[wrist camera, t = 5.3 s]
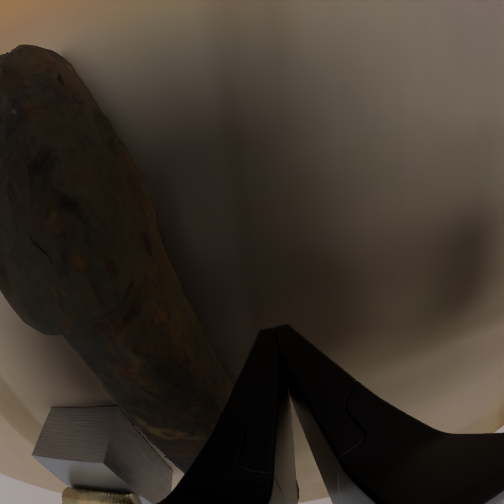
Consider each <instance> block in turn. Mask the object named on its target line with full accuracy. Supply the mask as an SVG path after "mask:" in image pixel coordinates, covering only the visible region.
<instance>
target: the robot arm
mask: <svg viewBox="0 0 504 504" xmlns="http://www.w3.org/2000/svg"><path fill="white" fill-rule="evenodd" d="M274 330H275V331H274ZM277 343H278V344H277ZM281 360H282V361H281ZM284 373H285V374H284ZM285 377H286V378H285ZM287 386H288V387H287ZM288 390H289V391H288ZM289 394H290V396H289ZM290 397H291V400H292V403H293V405H294V408H295V411H296V413H297V416H298V418H299V421H300V423H301V426H302V428H303V431H304V433H305V436H306V438H307V441H308V444H309V446H310V449H311V451H312V454H313V456H314V459H315V461H316V464H317V466H318V469H319V471H320V473H321V476H322V478H323V481H324V483H325V486H326V488H327V491H328V493H329V496H330V498H331V500H332V503H333V504H504V433H486V434H451V433H446V432H442V431H439V430H436V429H434V428H432V427H430V426H428V425H426V424H424V423H422V422H421V421H419V420H417V419H415V418H413V417H412V416H410V415H408V414H406V413H404V412H403V411H401V410H399V409H397V408H396V407H394V406H392V405H391V404H389V403H387V402H386V401H384V400H383V399H381V398H379V397H378V396H377V395H375V394H374V393H373V392H371V391H370V390H368V389H367V388H366V387H365V386H363V385H362V384H361V383H360V382H358V381H356V380H355V379H354V378H353V377H352V376H351V375H349V374H348V373H347V372H346V371H345V370H343V369H342V368H341V367H340V366H338V365H337V364H336V363H335V362H333V361H332V360H331V359H330V358H329V357H327V356H326V355H325V354H324V353H322V352H321V351H320V350H319V349H318V348H316V347H315V346H314V345H313V344H312V343H310V342H309V341H308V340H307V339H306V338H304V337H303V336H302V335H301V334H300V333H298V332H297V331H296V330H295V329H294V328H292V327H291V326H290V325H289V324H283V325H279V326H276V327H275V328H272V327H271V328H267V329H262V330H260V331H259V333H258V335H257V337H256V339H255V342H254V344H253V346H252V348H251V351H250V353H249V355H248V357H247V360H246V362H245V364H244V366H243V368H242V371H241V373H240V375H239V377H238V379H237V382H236V384H235V386H234V388H233V390H232V392H231V395H230V397H229V399H228V401H227V403H226V405H225V407H224V410H223V412H222V413H221V416H220V418H219V420H218V422H217V424H216V426H215V428H214V430H213V432H212V433H211V435H210V437H209V439H208V440H207V442H206V444H205V445H204V447H203V448H202V450H201V451H200V453H199V454H198V456H197V457H196V459H195V460H194V462H193V463H192V465H191V466H190V467H189V469H188V470H187V472H186V473H185V475H184V476H183V477H182V479H181V480H180V482H179V483H178V484H177V486H176V487H175V488H174V490H173V491H172V492H171V493H170V494H169V495H168V496H167V497H165V498H164V499H163V500H162V501H160V502H158V503H157V504H298V502H297V486H296V471H295V457H294V443H293V430H292V417H291V405H290Z"/></svg>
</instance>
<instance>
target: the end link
mask: <svg viewBox="0 0 504 504" xmlns="http://www.w3.org/2000/svg"><path fill="white" fill-rule="evenodd" d="M32 456H33V457H34V458H35V459H36V460H37V461H39V462H40V463H41V464H42V465H43V466H44V467H45V468H47V469H48V470H49V471H50V472H51V473H52V474H54V475H55V476H56V477H57V478H59V479H60V480H61V481H62V482H64V483H65V484H66V485H67V486H69V487H67V488H65V489H64V491H63V493H62V502H63V504H157V503H158V502H160V501H162V500H163V499H164V498H165V497H167V496H168V495H169V494H170V493H171V486H172V472H173V470H172V469H171V468H170V467H169V466H168V465H167V464H166V463H165V462H164V461H163V460H162V459H161V457H160V456H159V455H158V454H157V453H156V452H155V451H154V450H153V448H152V447H151V446H150V445H149V444H148V443H147V441H146V440H145V439H144V438H143V437H142V436H141V434H140V433H139V432H138V431H137V429H136V428H135V427H134V426H133V425H132V423H131V422H130V421H129V419H128V418H127V417H126V416H125V414H124V413H123V412H122V410H121V409H120V408H119V406H108V407H81V408H51V409H50V412H49V414H48V416H47V419H46V421H45V423H44V426H43V428H42V431H41V433H40V435H39V438H38V440H37V443H36V445H35V448H34V451H33V453H32Z"/></svg>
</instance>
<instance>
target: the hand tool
mask: <svg viewBox="0 0 504 504" xmlns="http://www.w3.org/2000/svg"><path fill="white" fill-rule="evenodd" d="M0 291H1V292H2V294H3V295H4V297H5V298H6V300H7V301H8V303H9V304H10V305H11V307H12V308H13V309H14V311H15V312H16V313H17V314H18V315H19V317H20V318H21V319H22V320H23V321H24V322H25V323H26V324H28V325H29V326H31V327H33V328H34V329H36V330H38V331H39V332H41V333H43V334H45V335H64V337H65V338H66V339H67V341H68V343H69V344H70V345H71V346H72V347H73V348H74V349H75V350H76V351H77V353H78V354H79V355H80V356H81V358H82V359H83V360H84V361H85V363H86V364H87V365H88V366H89V367H90V368H91V370H92V371H93V372H94V373H95V374H96V376H97V377H98V378H99V380H100V381H101V382H102V384H103V386H104V389H105V390H106V391H107V392H108V393H109V394H110V396H111V397H112V399H113V400H114V401H115V402H116V403H117V405H118V406H119V407H120V408H121V410H122V411H123V412H124V413H125V414H126V415H127V416H128V418H129V419H130V420H131V421H132V422H133V423H134V424H135V425H136V426H137V427H138V428H139V429H140V430H141V431H142V432H143V433H144V434H145V435H146V437H147V438H148V439H149V441H150V442H152V443H153V444H154V445H155V446H156V447H157V448H158V449H159V450H161V451H162V452H163V453H164V454H165V457H166V458H167V457H168V459H169V460H171V461H172V463H173V464H174V465H176V467H178V468H179V469H180V470H181V471H182V472H183V473H184V474H185V473H186V472H187V470H188V469H189V467H190V466H191V465H192V463H193V462H194V460H195V459H196V457H197V456H198V454H199V453H200V451H201V450H202V448H203V447H204V445H205V444H206V442H207V440H208V439H209V437H210V435H211V433H212V432H213V430H214V428H215V426H216V424H217V422H218V420H219V418H220V416H221V413H222V412H223V410H224V407H225V405H226V403H227V401H228V399H229V397H230V395H231V392H232V390H233V388H234V386H235V384H233V383H232V382H231V381H230V379H229V377H228V376H227V374H226V372H225V371H224V369H223V367H222V365H221V363H220V362H219V360H218V358H217V356H216V354H215V352H214V350H213V348H212V347H211V345H210V343H209V341H208V339H207V337H206V335H205V333H204V331H203V329H202V327H201V325H200V322H199V320H198V319H197V317H196V315H195V313H194V311H193V309H192V307H191V305H190V303H189V302H188V300H187V298H186V296H185V294H184V291H183V289H182V286H181V284H180V282H179V279H178V277H177V275H176V273H175V271H174V269H173V267H172V265H171V262H170V260H169V258H168V256H167V254H166V251H165V248H164V245H163V242H162V238H161V235H160V231H159V227H158V223H157V212H156V210H155V208H154V205H153V203H152V201H151V199H150V197H149V195H148V192H147V190H146V188H145V186H144V184H143V182H142V180H141V178H140V176H139V174H138V172H137V170H136V169H135V167H134V165H133V163H132V161H131V159H130V157H129V155H128V153H127V151H126V150H125V148H124V146H123V144H122V142H120V141H119V140H118V138H117V136H116V135H115V133H114V131H113V130H112V128H111V126H110V125H109V123H108V121H107V120H106V118H105V117H104V115H103V113H102V112H101V110H100V109H99V107H98V105H97V104H96V102H95V101H94V99H93V97H92V96H91V94H90V93H89V91H88V90H87V88H86V87H85V86H84V84H83V83H82V82H81V81H80V79H79V78H78V77H77V75H76V74H75V72H74V71H73V69H72V67H71V66H70V64H69V63H68V62H67V61H66V60H65V59H64V58H63V57H62V56H60V55H59V54H57V53H56V52H54V51H52V50H48V49H45V48H41V47H38V46H33V45H18V46H17V47H16V48H15V49H13V50H12V51H11V52H10V53H8V52H7V53H6V54H3V55H0ZM296 486H297V502H298V500H299V487H298V484H297V480H296Z"/></svg>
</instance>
